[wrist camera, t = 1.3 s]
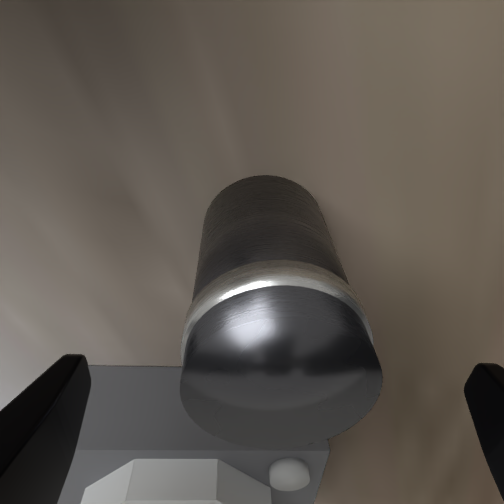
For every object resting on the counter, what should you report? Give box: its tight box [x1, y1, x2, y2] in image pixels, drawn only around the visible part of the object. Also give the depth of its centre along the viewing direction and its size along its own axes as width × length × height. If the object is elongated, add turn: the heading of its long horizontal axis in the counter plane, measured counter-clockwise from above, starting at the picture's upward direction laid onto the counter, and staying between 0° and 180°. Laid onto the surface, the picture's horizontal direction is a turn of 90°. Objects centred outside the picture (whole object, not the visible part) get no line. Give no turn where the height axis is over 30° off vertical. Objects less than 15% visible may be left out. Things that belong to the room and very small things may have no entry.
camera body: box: [57, 366, 330, 504], centre depth 18 cm, size 12×9×6 cm
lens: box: [180, 175, 382, 449], centre depth 11 cm, size 5×5×7 cm
